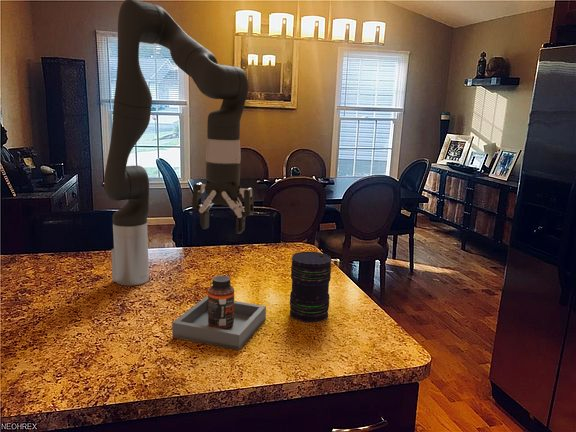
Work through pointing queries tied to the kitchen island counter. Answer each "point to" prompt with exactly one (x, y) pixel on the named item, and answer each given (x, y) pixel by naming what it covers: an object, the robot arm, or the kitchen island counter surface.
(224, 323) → the supplement bottle
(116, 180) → the robot arm
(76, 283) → the kitchen island counter surface
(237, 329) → the tray
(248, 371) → the kitchen island counter surface
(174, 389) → the kitchen island counter surface
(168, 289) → the kitchen island counter surface
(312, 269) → the dark cylinder
